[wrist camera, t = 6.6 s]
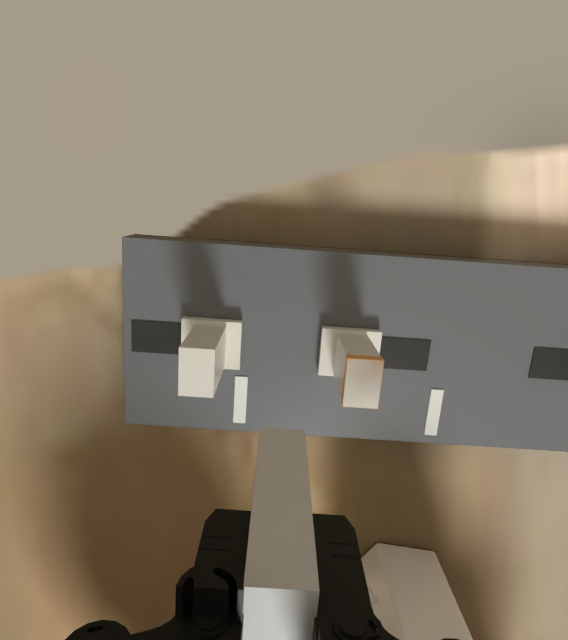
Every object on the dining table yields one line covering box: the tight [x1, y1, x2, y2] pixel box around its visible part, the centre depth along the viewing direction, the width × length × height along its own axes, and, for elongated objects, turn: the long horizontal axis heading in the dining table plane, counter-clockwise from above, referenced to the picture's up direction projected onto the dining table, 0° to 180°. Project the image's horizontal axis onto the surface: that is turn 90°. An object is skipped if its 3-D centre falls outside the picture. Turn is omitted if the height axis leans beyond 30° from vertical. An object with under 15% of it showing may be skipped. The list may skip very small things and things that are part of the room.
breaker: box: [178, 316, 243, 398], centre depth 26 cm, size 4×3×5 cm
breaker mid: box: [318, 326, 384, 409], centre depth 26 cm, size 4×3×5 cm
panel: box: [122, 234, 568, 452], centre depth 30 cm, size 33×12×3 cm, turn 86°
